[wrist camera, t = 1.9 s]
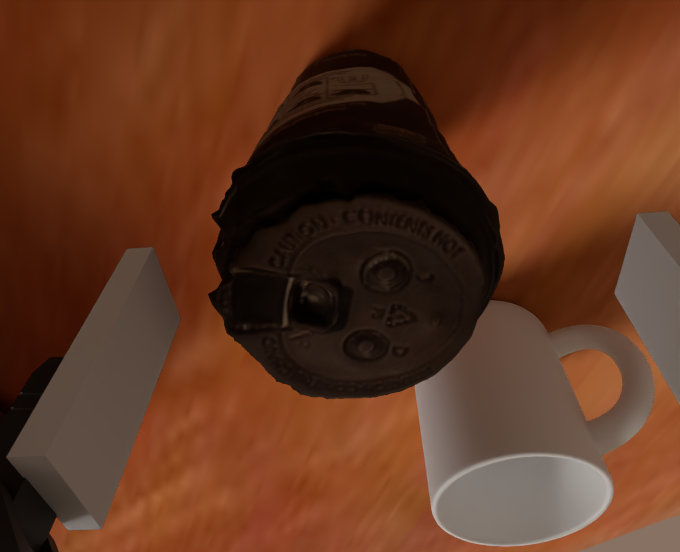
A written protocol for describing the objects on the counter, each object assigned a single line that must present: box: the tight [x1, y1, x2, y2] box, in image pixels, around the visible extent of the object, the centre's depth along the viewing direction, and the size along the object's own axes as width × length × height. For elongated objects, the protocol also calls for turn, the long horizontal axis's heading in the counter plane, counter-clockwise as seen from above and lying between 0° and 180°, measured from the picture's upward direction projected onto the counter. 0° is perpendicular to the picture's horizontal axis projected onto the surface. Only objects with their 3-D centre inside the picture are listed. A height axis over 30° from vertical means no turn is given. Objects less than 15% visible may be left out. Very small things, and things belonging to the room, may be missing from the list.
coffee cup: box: [208, 50, 505, 399], centre depth 19 cm, size 9×8×13 cm
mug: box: [415, 300, 655, 546], centre depth 28 cm, size 12×8×10 cm
